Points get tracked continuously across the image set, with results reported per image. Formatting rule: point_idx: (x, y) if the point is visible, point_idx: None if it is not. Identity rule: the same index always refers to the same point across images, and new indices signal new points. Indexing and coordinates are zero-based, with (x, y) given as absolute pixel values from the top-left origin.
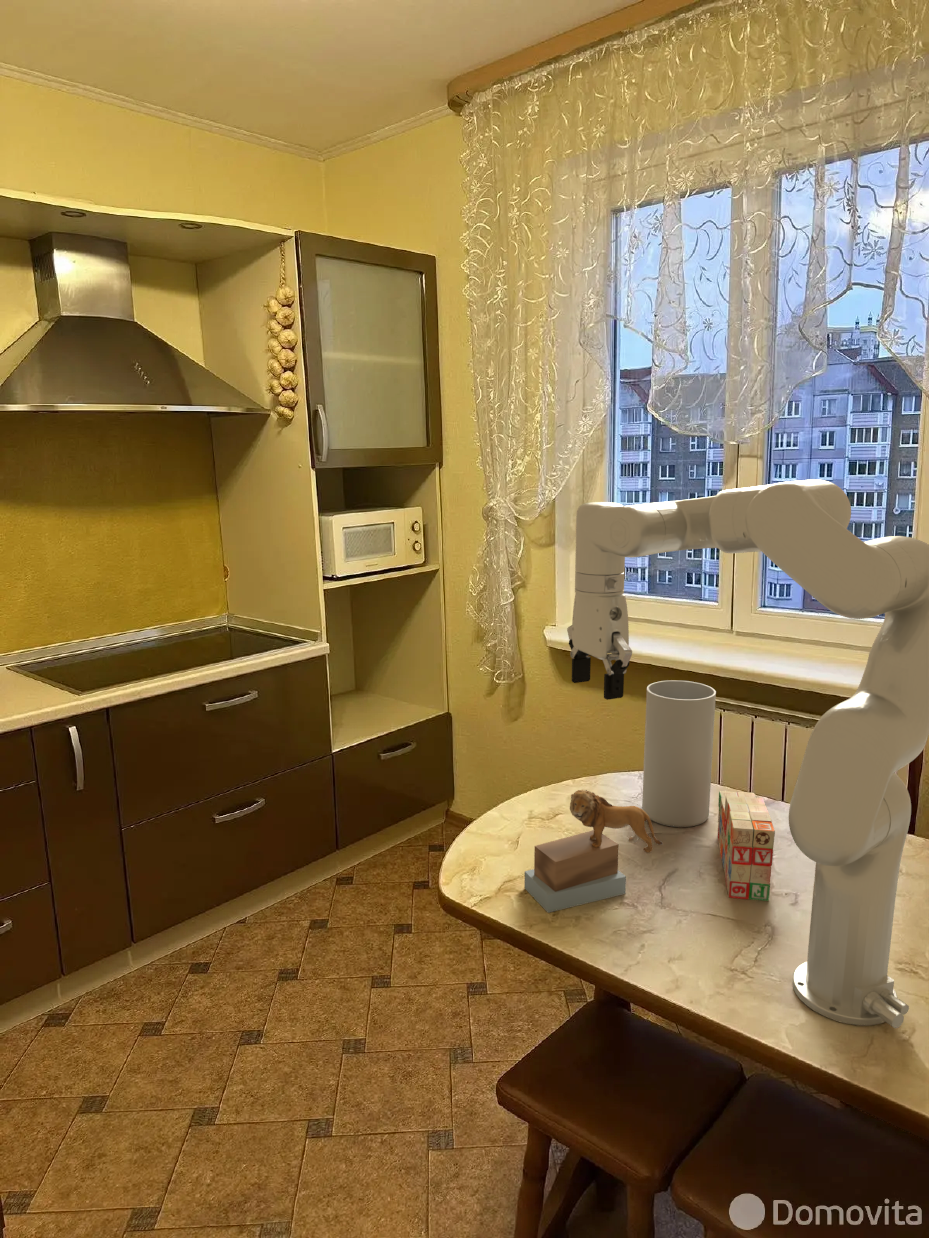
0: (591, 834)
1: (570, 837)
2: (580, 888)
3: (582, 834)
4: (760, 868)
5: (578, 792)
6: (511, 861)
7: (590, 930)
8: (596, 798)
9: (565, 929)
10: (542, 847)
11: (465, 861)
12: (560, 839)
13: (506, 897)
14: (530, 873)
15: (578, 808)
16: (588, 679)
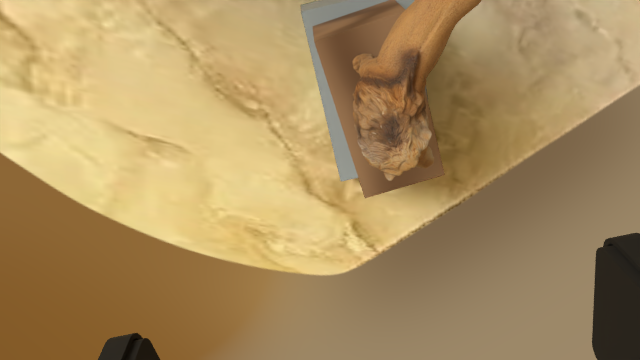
0: (338, 61)
1: (343, 115)
2: (426, 95)
3: (334, 83)
4: None
5: (401, 167)
6: (235, 167)
7: (502, 91)
8: (415, 110)
9: (484, 131)
10: (375, 184)
11: (225, 240)
12: (348, 140)
13: (361, 198)
14: (351, 173)
15: (427, 160)
16: (148, 352)
